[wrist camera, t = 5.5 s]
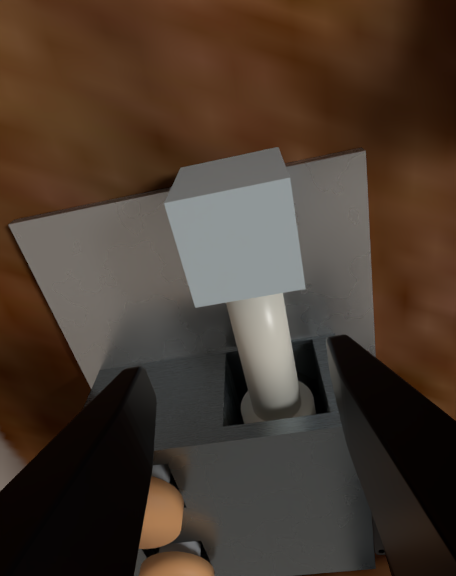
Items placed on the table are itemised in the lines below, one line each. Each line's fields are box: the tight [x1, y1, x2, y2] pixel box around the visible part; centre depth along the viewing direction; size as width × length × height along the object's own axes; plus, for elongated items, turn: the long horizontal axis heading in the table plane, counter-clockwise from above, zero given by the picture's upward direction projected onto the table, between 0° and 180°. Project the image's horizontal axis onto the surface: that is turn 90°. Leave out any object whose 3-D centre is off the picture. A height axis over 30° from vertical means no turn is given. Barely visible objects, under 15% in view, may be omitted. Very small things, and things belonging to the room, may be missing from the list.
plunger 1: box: [139, 464, 184, 549], centre depth 20 cm, size 4×4×4 cm
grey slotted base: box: [8, 148, 376, 576], centre depth 21 cm, size 21×16×7 cm
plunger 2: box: [139, 541, 215, 576], centre depth 22 cm, size 4×4×4 cm
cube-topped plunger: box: [164, 147, 316, 424], centre depth 20 cm, size 20×4×4 cm, turn 12°
